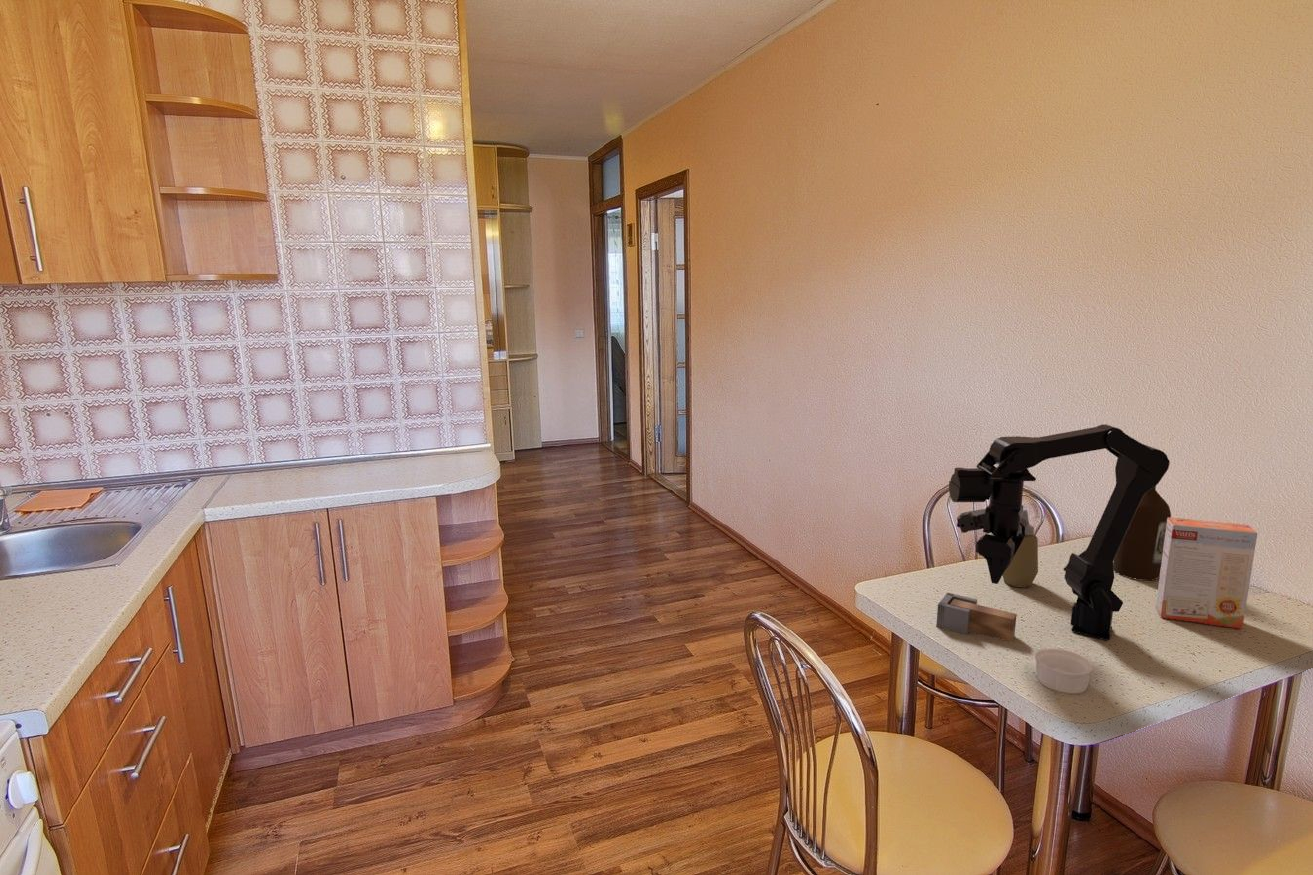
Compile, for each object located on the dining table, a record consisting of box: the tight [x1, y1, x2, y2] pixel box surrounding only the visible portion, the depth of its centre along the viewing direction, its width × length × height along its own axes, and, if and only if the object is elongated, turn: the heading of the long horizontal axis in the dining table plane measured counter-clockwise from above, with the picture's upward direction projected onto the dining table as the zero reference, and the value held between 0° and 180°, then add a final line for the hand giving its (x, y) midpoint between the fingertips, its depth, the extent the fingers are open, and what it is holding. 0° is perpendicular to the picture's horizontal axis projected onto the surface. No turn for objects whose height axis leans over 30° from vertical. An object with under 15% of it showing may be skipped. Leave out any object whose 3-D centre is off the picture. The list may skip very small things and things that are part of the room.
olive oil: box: [1113, 485, 1172, 581], centre depth 169 cm, size 11×11×25 cm
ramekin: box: [1034, 647, 1094, 695], centre depth 125 cm, size 9×9×4 cm
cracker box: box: [1155, 517, 1258, 630], centre depth 146 cm, size 14×6×21 cm, turn 65°
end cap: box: [935, 592, 978, 635], centre depth 147 cm, size 6×7×5 cm
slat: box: [950, 599, 1017, 643], centre depth 144 cm, size 12×3×5 cm, turn 53°
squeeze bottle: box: [1002, 509, 1039, 588], centre depth 165 cm, size 8×8×18 cm
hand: (999, 575), depth 143 cm, fingers open, 9 cm apart
